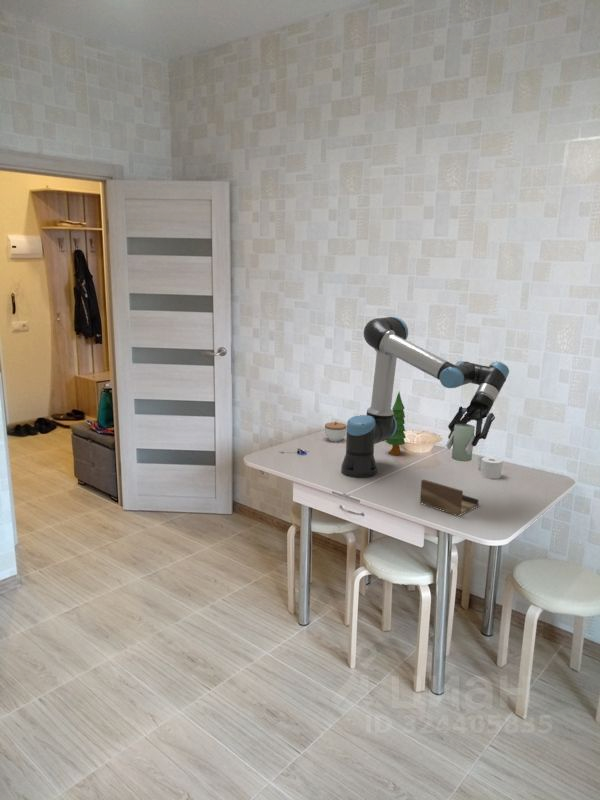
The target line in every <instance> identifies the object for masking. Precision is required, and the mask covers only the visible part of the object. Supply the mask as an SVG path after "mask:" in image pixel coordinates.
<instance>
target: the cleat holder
mask: <svg viewBox="0 0 600 800" xmlns="http://www.w3.org/2000/svg"><path fill="white" fill-rule="evenodd" d="M463 492H464V491H463V490H461V489H457V488H455V487H452V486H448V485H444V484H441V483H437V482H433V481H431V480H429V479H421V486H420V500H419V504H420V503H423V504H426V505H429V506H432V507H435V508H438V509H441V510H444V511H447V512H446V513H448V512H450V513H449V514H451V513H453V514H452V515H454V514H456V515H455V516H457V515H460V514H462V513H464V512H466V511H467V512H469V511H471V510H473V509H475V508H477V507H478V506H479V504H480V503H479V499H478V498H475V497H472V496H469V495H465V494H463ZM423 504H422V505H423ZM426 505H425V506H426ZM429 506H428V507H429ZM476 506H477V507H476ZM432 507H431V508H432ZM474 507H475V508H474ZM435 508H434V509H435ZM472 508H473V509H472ZM438 509H437V510H438ZM470 509H471V510H470ZM441 510H440V511H441ZM468 510H469V511H468ZM444 511H443V512H444ZM467 512H466V513H467ZM464 514H465V513H464ZM462 515H463V514H462ZM460 516H461V515H460Z"/></svg>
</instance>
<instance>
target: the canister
mask: <svg viewBox="0 0 600 800" xmlns="http://www.w3.org/2000/svg"><path fill="white" fill-rule="evenodd" d="M475 431H476V426H475V425H472V424H469V423H467V424H455V426H454V437H453V445H452V447H451V450H452V451H451V459H453V460H455V461H458V462H471V461H472V460H473V449H474V447H473V448H472V450H471V452H470V454H467V453H466V451H465V449H466V447H467V445H468V443H469V441H470V440H471V438H472V436H473V435H475Z"/></svg>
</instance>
